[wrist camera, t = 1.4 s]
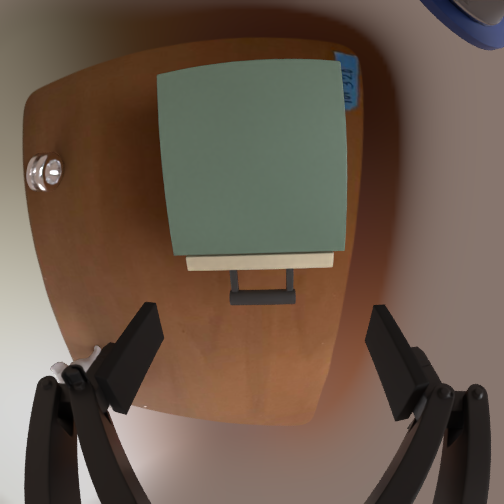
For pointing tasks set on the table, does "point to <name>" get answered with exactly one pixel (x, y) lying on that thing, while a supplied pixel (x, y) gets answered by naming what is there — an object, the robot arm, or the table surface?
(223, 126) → the cabinet
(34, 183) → the metal grooved wheel
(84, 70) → the table surface
